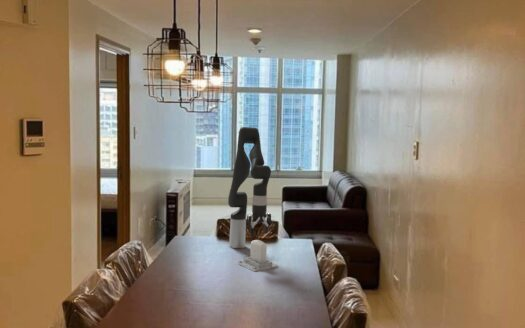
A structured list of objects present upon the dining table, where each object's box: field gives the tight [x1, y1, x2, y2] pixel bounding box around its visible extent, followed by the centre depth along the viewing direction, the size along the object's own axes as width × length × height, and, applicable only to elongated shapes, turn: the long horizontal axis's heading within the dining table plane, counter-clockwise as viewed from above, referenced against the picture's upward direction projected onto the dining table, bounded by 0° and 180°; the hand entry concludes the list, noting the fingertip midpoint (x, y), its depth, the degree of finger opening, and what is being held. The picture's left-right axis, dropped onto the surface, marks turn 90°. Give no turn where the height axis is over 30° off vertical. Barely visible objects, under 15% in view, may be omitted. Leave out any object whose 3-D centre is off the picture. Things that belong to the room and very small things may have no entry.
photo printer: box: [249, 239, 267, 263], centre depth 261 cm, size 10×4×12 cm, turn 38°
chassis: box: [237, 256, 279, 272], centre depth 261 cm, size 16×15×3 cm
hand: (258, 234), depth 260 cm, fingers open, 8 cm apart
